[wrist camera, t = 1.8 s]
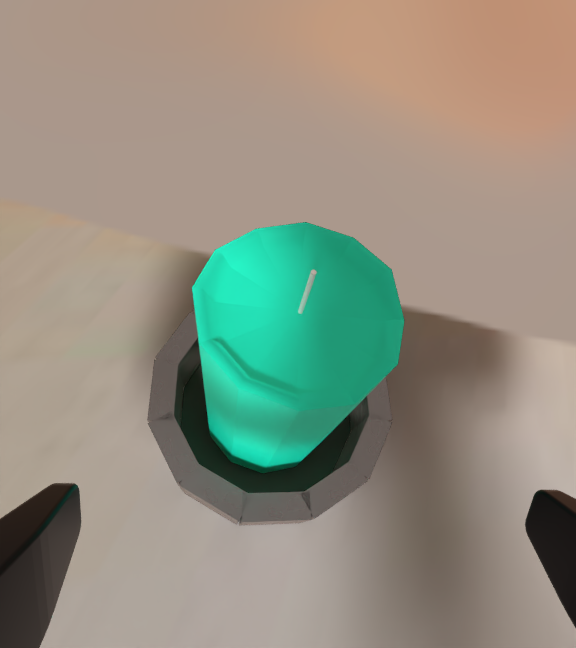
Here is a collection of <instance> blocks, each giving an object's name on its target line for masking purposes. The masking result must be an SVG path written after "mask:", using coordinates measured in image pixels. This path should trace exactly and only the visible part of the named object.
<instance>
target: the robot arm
mask: <svg viewBox="0 0 576 648" xmlns="http://www.w3.org/2000/svg"><path fill="white" fill-rule="evenodd" d="M80 527H81V510H80V494H79V488H78V486H77V485H76V484H74V483H54V484H52V485H50V486H48V487H47V488H45V489H44V490H42V491H41V492H39V493H38V494H36V495H35V496H33V497H32V498H30V499H29V500H27V501H26V502H24V503H23V504H21V505H20V506H18V507H17V508H15V509H14V510H12V511H11V512H9V513H8V514H6V515H5V516H4V517H2V518H1V519H0V648H39V647H40V645H41V643H42V641H43V638H44V636H45V633H46V631H47V628H48V626H49V623H50V621H51V618H52V615H53V612H54V609H55V606H56V603H57V600H58V597H59V594H60V591H61V588H62V585H63V582H64V579H65V576H66V573H67V570H68V566H69V563H70V560H71V557H72V554H73V551H74V548H75V545H76V542H77V539H78V536H79V532H80ZM525 527H526V532H527V535H528V537H529V539H530V541H531V543H532V545H533V547H534V549H535V551H536V553H537V555H538V557H539V559H540V561H541V563H542V565H543V567H544V569H545V571H546V573H547V575H548V577H549V579H550V581H551V583H552V585H553V587H554V589H555V591H556V593H557V595H558V597H559V599H560V601H561V603H562V605H563V606H564V608H565V610H566V612H567V614H568V616H569V617H570V619H571V621H572V623H573V624H574V626H575V628H576V499H575V498H573V497H571V496H569V495H567V494H565V493H563V492H561V491H558V490H539V491H537V492H536V493H535V494H534V497H533V500H532V503H531V506H530V509H529V512H528V515H527V518H526V522H525Z"/></svg>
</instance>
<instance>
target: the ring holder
mask: <svg viewBox="0 0 576 648" xmlns="http://www.w3.org/2000/svg"><path fill="white" fill-rule="evenodd" d="M192 311H193V313H191V312H190V313H189V314H188V315H187V317H186V318H185V319H184V321H183V322H182V323H181V324H180V326H179V327H178V328H177V330H176V331H175V332H174V334H173V335H172V336H171V337H170V339H169V340H168V341H167V343H166V344H165V345H164V347H163V348H162V349H161V350H160V352H159V353H158V354H157V356H156V360H154V367H153V376H152V385H151V393H150V402H149V411H148V419H147V420H148V422H149V423H148V425H149V427H150V429H151V431H152V433H153V435H154V437H155V439H156V441H157V443H158V445H159V447H160V449H161V451H162V453H163V455H164V458H165V460H166V462H167V464H168V466H169V468H170V470H171V472H172V474H173V476H174V478H175V480H176V482H177V484H178V485H179V486H180V488H181V489H182V490H183V491H184V493H185V494H187V495H188V496H190V497H192V498H193V499H195V500H197V501H198V502H200V503H202V504H203V505H205V506H207V507H208V508H210V509H212V510H213V511H215V512H217V513H218V514H220V515H222V516H223V517H225V518H227V519H228V520H230V521H231V522H233V523H235V524H237V523H238V522H239V525H260V524H288V523H301V522H305V521H309V520H312V519H315V518H316V517H318V516H319V515H320V514H322V513H323V512H325V511H326V510H328V509H329V508H330V507H332V506H333V505H335V504H336V503H337V502H339V501H340V500H342V499H343V498H344V497H346V496H347V495H349V494H350V493H351V492H353V491H354V490H356V489H357V488H359V487H360V486H361V485H363V484H364V483H366V482H367V480H368V479H370V476H371V474H372V471H373V469H374V466H375V464H376V461H377V459H378V456H379V454H380V451H381V449H382V446H383V444H384V441H385V439H386V436H387V434H388V432H389V429H390V427H391V424H392V422H390V421H391V420H392V414H391V408H390V401H389V394H388V388H387V381H386V377H385V378H384V379H383V380H382V381H381V382H380V383H379V384H378V385H377V386H376V387H375V388H374V389H373V390H372V391H371V392H370V393H369V394H368V395H367V396H366V397H365V398H364V399H363V400H362V401H361V402H360V403H359V404H358V405H357V407H356V408H355V409H354V410H353V411H352V412H351V413H350V414H349V419H350V428H351V432H350V434H349V437H348V439H347V441H346V443H345V445H344V448H343V450H342V452H341V454H340V457H339V459H338V461H337V463H336V465H335V468H334V470H333V472H332V473H331V474H329V475H328V476H326V477H325V478H323V479H322V480H320V481H319V482H317V483H316V484H314V485H313V486H311V487H310V488H308V489H307V490H305V491H304V492H272V493H247V492H245V491H243V490H242V489H240V488H238V487H237V486H235V485H233V484H232V483H230V482H228V481H227V480H225V479H223V478H221V477H220V476H218V475H216V474H215V473H213V472H211V471H210V470H208V469H206V468H205V467H203V466H201V465H200V464H198V462H197V460H196V458H195V456H194V454H193V452H192V450H191V448H190V446H189V444H188V442H187V440H186V438H185V436H184V434H183V433H182V431H181V429H180V428H181V416H182V403H183V390H184V386H185V385H186V383H187V382H188V380H189V379H190V378H191V376H192V375H193V373H194V372H195V370H196V369H197V368H198V366H199V365H200V363H201V358H200V350H199V342H198V333H197V325H196V317H195V309H194V310H192Z"/></svg>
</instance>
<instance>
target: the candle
mask: <svg viewBox="0 0 576 648" xmlns="http://www.w3.org/2000/svg"><path fill="white" fill-rule="evenodd" d="M192 292H193V300H194V309H195V317H196V325H197V333H198V342H199V350H200V358H201V367H202V375H203V383H204V392H205V400H206V408H207V416H208V424H209V431H210V436H211V438H212V439H213V440H214V441H215V443H216V444H217V445H218V446H219V448H220V449H221V450H222V451H223V453H224V454H225V455H226V456H227V458H228V459H229V460H230V461H231V462H232V463H235V464H238V465H241V466H243V467H246V468H249V469H252V470H254V471H257V472H260V473H268V472H273V471H278V470H282V469H287V468H292V467H296V466H297V465H298V464H299V463H300V462H301V461H302V460H303V459H304V458H305V457H306V456H307V455H309V454H310V453H311V452H312V451H313V450H314V449H315V448H316V447H317V446H318V445H319V444H320V443H321V442H322V441H323V440H324V439H325V438H326V437H327V436H328V435H329V434H330V433H331V432H332V431H333V430H334V429H335V428H336V427H337V426H338V425H339V424H340V423H341V422H342V421H343V420H344V419H345V418H346V417H347V416H348V415H349V414H350V413H351V412H352V411H353V410H354V409H355V408H356V407H357V405H358V404H359V403H360V402H361V401H362V400H363V399H364V398H365V397H366V396H367V395H368V394H369V393H370V392H371V391H372V390H373V389H374V388H375V387H376V386H377V385H378V384H379V383H380V382H381V381H382V380H383V379H384V378H385V377H386V376H387V375H388V374H389V373H390V372H391V371H392V370H393V369H394V368H395V367H396V366H397V365H398V360H399V354H400V347H401V340H402V334H403V327H404V317H403V313H402V309H401V305H400V301H399V297H398V293H397V289H396V285H395V281H394V278H393V273H392V270H391V269H390V268H389V267H388V266H387V265H386V264H384V263H383V262H382V261H381V260H380V259H378V258H377V257H376V256H375V255H374V254H372V253H371V252H370V251H369V250H368V249H366V248H365V247H364V246H363V245H362V244H361V243H359V242H358V241H357V240H356V239H355V238H353V237H350V236H346V235H344V234H341V233H338V232H335V231H331V230H328V229H325V228H322V227H319V226H316V225H313V224H310V223H307V222H303V223H296V224H288V225H281V226H273V227H266V228H258V229H255V230H253V231H251V232H249V233H247V234H245V235H243V236H241V237H239V238H237V239H235V240H233V241H231V242H230V243H228V244H226V245H224V246H222V247H220V248H218V249H216V250H215V251H214V252H213V254H212V256H211V257H210V259H209V261H208V262H207V264H206V266H205V267H204V269H203V270H202V272H201V274H200V275H199V277H198V279H197V280H196V282H195V284H194V285H193V287H192Z"/></svg>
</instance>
